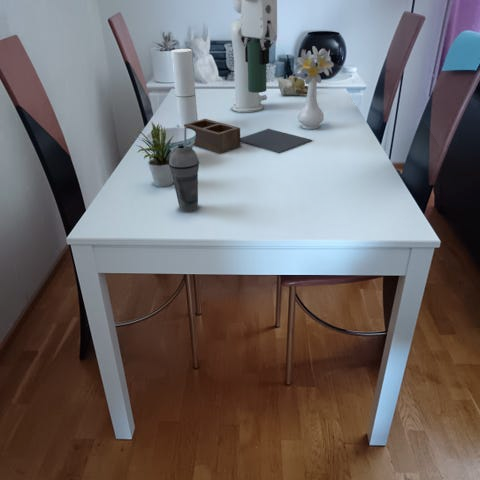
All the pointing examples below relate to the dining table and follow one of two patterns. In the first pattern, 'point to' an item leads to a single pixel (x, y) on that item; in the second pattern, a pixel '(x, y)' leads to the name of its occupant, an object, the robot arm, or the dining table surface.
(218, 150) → the caddy
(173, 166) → the beverage cup
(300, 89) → the ceramic sculpture
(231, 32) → the robot arm
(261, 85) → the bottle
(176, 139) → the chinaware
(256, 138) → the mat
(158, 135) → the house plant
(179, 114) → the cylindrical container
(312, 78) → the flower vase
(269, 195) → the dining table surface
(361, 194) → the dining table surface
